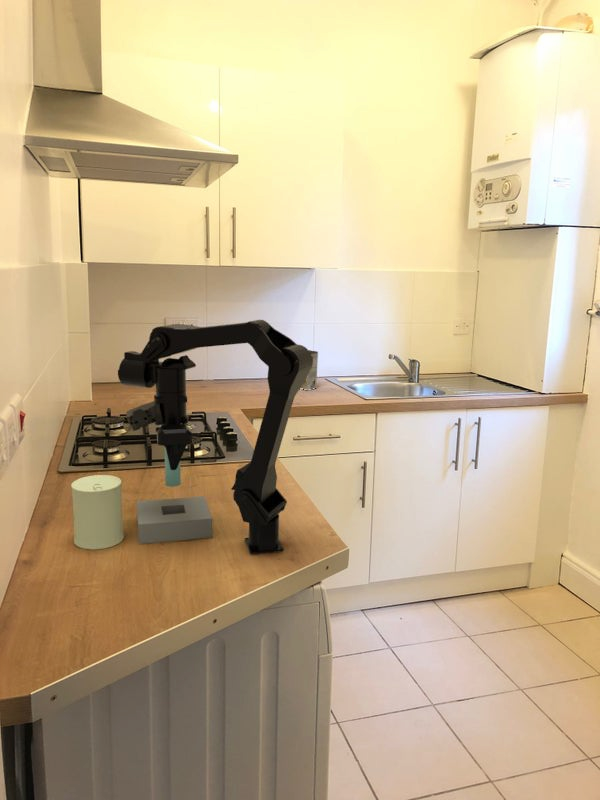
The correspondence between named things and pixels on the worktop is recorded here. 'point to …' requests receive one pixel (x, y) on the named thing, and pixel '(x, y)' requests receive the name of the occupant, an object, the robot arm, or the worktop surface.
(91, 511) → the can
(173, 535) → the hole block
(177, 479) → the peg
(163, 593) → the worktop surface
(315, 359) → the coffee box
